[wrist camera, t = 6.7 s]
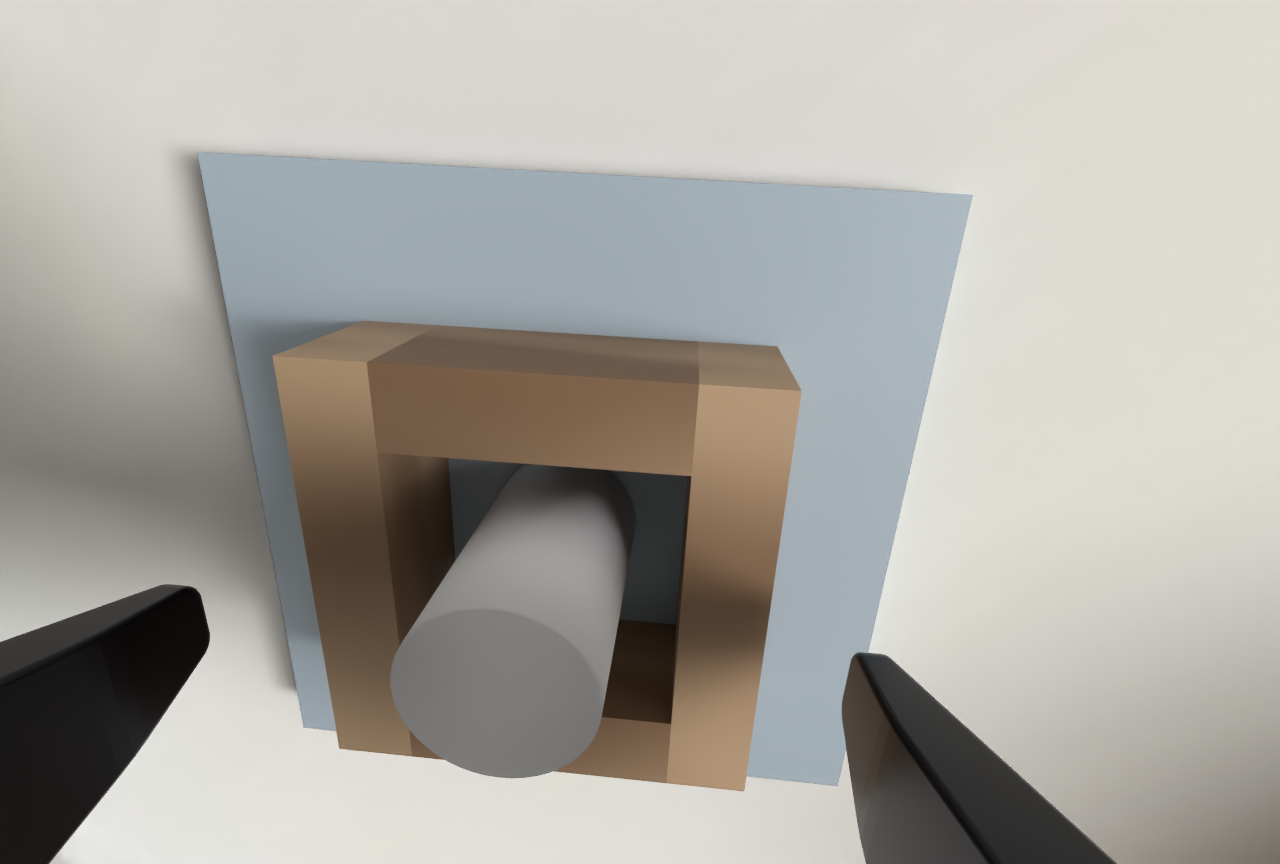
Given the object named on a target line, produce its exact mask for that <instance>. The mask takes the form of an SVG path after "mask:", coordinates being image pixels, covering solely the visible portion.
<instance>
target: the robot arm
mask: <svg viewBox="0 0 1280 864" xmlns="http://www.w3.org/2000/svg"><path fill="white" fill-rule="evenodd" d="M209 641H210V632H209V628H208V624H207V620H206V615H205V611H204V607H203V603H202V598H201V595H200V593H199V592H198V591H197V590H196V589H195V588H193V587H190V586H181V585H170V584H166V585H160V586H157V587H154V588H151V589H148V590H146V591H143V592H140V593H137V594H134V595H132V596H129V597H126V598H123V599H120V600H118V601H115V602H112V603H109V604H106V605H103V606H101V607H98V608H95V609H92V610H89V611H87V612H84V613H81V614H78V615H75V616H72V617H70V618H67V619H64V620H61V621H58V622H56V623H53V624H50V625H47V626H44V627H41V628H39V629H36V630H33V631H30V632H27V633H25V634H22V635H19V636H16V637H13V638H11V639H8V640H5V641H2V642H0V864H49V863H50V862H51V861H52V860H53V859H54V857H55V856H56V855H57V853H58V852H59V851H60V850H61V849H62V847H63V846H64V845H65V844H66V842H67V841H68V840H69V839H70V837H71V836H72V835H73V834H74V832H75V831H76V830H77V829H78V827H79V826H80V825H81V824H82V822H83V821H84V820H85V819H86V817H87V816H88V815H89V814H90V812H91V811H92V810H93V809H94V808H95V806H96V805H97V804H98V803H99V801H100V800H101V799H102V798H103V796H104V795H105V794H106V793H107V791H108V790H109V789H110V788H111V786H112V785H113V784H114V783H115V781H116V780H117V779H118V778H119V776H120V775H121V774H122V773H123V771H124V770H125V769H126V767H127V766H128V765H129V764H130V762H131V761H132V760H133V758H134V757H135V756H136V754H137V753H138V751H139V750H140V749H141V747H142V746H143V744H144V743H145V742H146V740H147V739H148V737H149V736H150V734H151V733H152V731H153V730H154V728H155V727H156V725H157V724H158V722H159V721H160V720H161V718H162V717H163V715H164V714H165V712H166V711H167V709H168V708H169V706H170V705H171V703H172V702H173V700H174V699H175V697H176V696H177V694H178V693H179V691H180V690H181V688H182V687H183V686H184V684H185V683H186V681H187V680H188V678H189V677H190V675H191V674H192V672H193V671H194V669H195V668H196V666H197V665H198V663H199V662H200V660H201V659H202V657H203V656H204V654H205V653H206V651H207V648H208V645H209ZM842 723H843V730H844V736H845V743H846V750H847V756H848V763H849V769H850V776H851V783H852V789H853V796H854V803H855V809H856V816H857V822H858V828H859V834H860V840H861V844H862V848H863V852H864V857H865V861H866V864H1117V863H1116V862H1115V861H1113V860H1112V859H1111V858H1110V857H1109V856H1108V855H1107V854H1106V853H1105V852H1104V851H1102V850H1101V849H1100V848H1099V847H1098V846H1097V845H1096V844H1095V843H1094V842H1093V841H1091V840H1090V839H1089V838H1088V837H1087V836H1086V835H1085V834H1084V833H1083V832H1081V831H1080V830H1079V829H1078V828H1077V827H1076V826H1075V825H1074V824H1073V823H1072V822H1070V821H1069V820H1068V819H1067V818H1066V817H1065V816H1064V815H1063V814H1062V813H1061V812H1059V811H1058V810H1057V809H1056V808H1055V807H1054V806H1053V805H1052V804H1051V803H1050V802H1048V801H1047V800H1046V799H1045V798H1044V797H1043V796H1042V795H1041V794H1040V793H1039V792H1037V791H1036V790H1035V789H1034V788H1033V787H1032V786H1031V785H1030V784H1029V783H1027V782H1026V781H1025V780H1024V779H1023V778H1022V777H1021V776H1020V775H1019V774H1018V773H1016V772H1015V771H1014V770H1013V769H1012V768H1011V767H1010V766H1009V765H1008V764H1007V763H1005V762H1004V761H1003V760H1002V759H1001V758H1000V757H999V756H998V755H997V754H996V753H994V752H993V751H992V750H991V749H990V748H989V747H988V746H987V745H986V744H985V743H983V742H982V741H981V740H980V739H979V738H978V737H977V736H976V735H975V734H973V733H972V732H971V731H970V730H969V729H968V728H967V727H966V726H965V725H964V724H962V723H961V722H960V721H959V720H958V719H957V718H956V717H955V716H954V715H953V714H951V713H950V712H949V711H948V710H947V709H946V708H945V707H944V706H943V705H942V704H940V703H939V702H938V701H937V700H936V699H935V698H934V697H933V696H932V695H931V694H929V693H928V692H927V691H926V690H925V689H924V688H923V687H922V686H921V685H920V684H918V683H917V682H916V681H915V680H914V679H913V678H912V677H911V676H910V675H908V674H907V673H906V672H905V671H904V670H903V669H902V668H901V667H900V666H899V665H897V664H896V663H895V662H894V661H893V660H892V659H891V658H889V657H888V656H886V655H883V654H874V653H864V652H858V653H856V654H854V655H853V657H852V659H851V662H850V666H849V671H848V676H847V680H846V685H845V689H844V694H843V699H842Z"/></svg>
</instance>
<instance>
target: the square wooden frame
mask: <svg viewBox="0 0 1280 864" xmlns="http://www.w3.org/2000/svg"><path fill="white" fill-rule="evenodd" d="M272 357H273V362H274V368H275V374H276V380H277V386H278V392H279V398H280V403H281V409H282V415H283V421H284V427H285V433H286V439H287V444H288V450H289V456H290V462H291V468H292V474H293V480H294V485H295V491H296V497H297V503H298V509H299V515H300V521H301V527H302V532H303V538H304V544H305V550H306V556H307V562H308V568H309V573H310V579H311V585H312V591H313V597H314V603H315V609H316V614H317V620H318V626H319V632H320V638H321V644H322V650H323V655H324V661H325V667H326V673H327V679H328V685H329V691H330V696H331V702H332V708H333V714H334V720H335V726H336V732H337V737H338V743H339V749H348V750H358V751H367V752H376V753H386V754H395V755H405V756H414V757H424V758H433V759H443V758H441V757H440V756H438V755H436V754H435V753H434V752H432V751H431V750H430V749H428V748H427V747H426V746H425V745H424V744H422V743H421V742H420V741H419V740H418V739H417V738H416V737H415V736H414V734H413V733H412V732H411V731H410V730H409V729H408V727H407V726H406V724H405V723H404V721H403V720H402V718H401V716H400V714H399V712H398V711H397V708H396V706H395V703H394V700H393V696H392V691H391V680H390V675H391V668H392V663H393V660H394V657H395V654H396V652H397V650H398V649H399V647H400V645H401V643H402V642H403V640H404V639H405V637H406V636H407V634H408V633H409V631H410V630H411V628H412V626H413V625H414V623H415V622H416V620H417V619H418V617H419V616H420V614H421V613H422V611H423V610H424V608H425V607H426V605H427V604H428V602H429V600H430V599H431V597H432V596H433V594H434V593H435V591H436V590H437V588H438V587H439V585H440V584H441V582H442V581H443V579H444V578H445V576H446V574H447V573H448V571H449V570H450V568H451V567H452V565H453V564H454V562H455V561H456V560H455V546H454V532H453V518H452V504H451V490H450V476H449V462H448V458H456V459H469V460H483V461H496V462H509V463H522V464H536V465H549V466H562V467H575V468H589V469H602V470H615V471H628V472H642V473H655V474H668V475H681V476H688V477H687V489H686V502H685V514H684V527H683V539H682V552H681V565H680V577H679V590H678V602H677V615H676V624H665V623H654V622H643V621H632V620H621V619H619V622H618V628H617V633H616V639H615V645H614V650H613V656H612V661H611V667H610V673H609V678H608V684H607V689H606V695H605V701H604V706H603V712H602V717H601V722H600V725H599V728H598V731H597V733H596V735H595V737H594V739H593V741H592V742H591V743H590V745H589V746H588V748H587V749H586V750H585V751H584V752H583V753H582V754H581V755H580V756H579V757H577V758H576V759H575V760H573V761H572V762H571V763H569V764H567V765H565V766H563V767H562V768H560V769H557V770H555V771H557V772H566V773H576V774H585V775H595V776H604V777H614V778H623V779H632V780H642V781H651V782H661V783H670V784H680V785H689V786H699V787H708V788H718V789H727V790H737V791H744V788H745V781H746V774H747V767H748V760H749V753H750V746H751V740H752V733H753V726H754V719H755V712H756V705H757V698H758V691H759V684H760V677H761V670H762V663H763V656H764V649H765V643H766V636H767V629H768V622H769V615H770V608H771V601H772V594H773V587H774V580H775V573H776V566H777V559H778V552H779V546H780V539H781V532H782V525H783V518H784V511H785V504H786V497H787V490H788V483H789V476H790V469H791V462H792V455H793V449H794V442H795V435H796V428H797V421H798V414H799V407H800V400H801V393H802V391H801V389H800V387H799V385H798V383H797V381H796V380H795V378H794V376H793V374H792V372H791V370H790V368H789V367H788V365H787V363H786V361H785V359H784V357H783V356H782V354H781V352H780V350H779V348H778V346H763V345H747V344H731V343H715V342H699V341H683V340H667V339H651V338H635V337H619V336H603V335H587V334H571V333H555V332H539V331H523V330H506V329H490V328H474V327H458V326H442V325H426V324H410V323H394V322H378V321H362V322H360V323H357V324H354V325H352V326H349V327H347V328H344V329H341V330H339V331H336V332H334V333H331V334H328V335H326V336H323V337H321V338H318V339H315V340H313V341H310V342H307V343H305V344H302V345H300V346H297V347H294V348H292V349H289V350H287V351H284V352H281V353H279V354H276V355H273V356H272ZM443 760H445V759H443Z"/></svg>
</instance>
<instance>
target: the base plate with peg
mask: <svg viewBox="0 0 1280 864" xmlns="http://www.w3.org/2000/svg"><path fill="white" fill-rule="evenodd" d="M197 153H198V159H199V164H200V169H201V175H202V180H203V186H204V191H205V196H206V202H207V207H208V213H209V218H210V223H211V229H212V234H213V240H214V245H215V250H216V256H217V261H218V267H219V272H220V277H221V283H222V288H223V294H224V299H225V305H226V310H227V315H228V321H229V326H230V332H231V337H232V342H233V348H234V353H235V359H236V364H237V369H238V375H239V380H240V386H241V391H242V396H243V402H244V407H245V413H246V418H247V423H248V429H249V434H250V440H251V445H252V451H253V456H254V461H255V467H256V472H257V478H258V483H259V488H260V494H261V499H262V505H263V510H264V515H265V521H266V526H267V532H268V537H269V542H270V548H271V553H272V559H273V564H274V569H275V575H276V580H277V586H278V591H279V596H280V602H281V607H282V613H283V618H284V624H285V629H286V634H287V640H288V645H289V651H290V656H291V661H292V667H293V672H294V678H295V683H296V688H297V694H298V699H299V705H300V710H301V715H302V721H303V726H304V728H313V729H322V730H331V731H336V726H335V720H334V714H333V708H332V702H331V696H330V691H329V685H328V679H327V673H326V667H325V661H324V655H323V650H322V644H321V638H320V632H319V626H318V620H317V614H316V609H315V603H314V597H313V591H312V585H311V579H310V573H309V568H308V562H307V556H306V550H305V544H304V538H303V532H302V527H301V521H300V515H299V509H298V503H297V497H296V491H295V485H294V480H293V474H292V468H291V462H290V456H289V450H288V444H287V439H286V433H285V427H284V421H283V415H282V409H281V403H280V398H279V392H278V386H277V380H276V374H275V368H274V362H273V357H272V356H273V355H276V354H279V353H281V352H284V351H287V350H289V349H292V348H294V347H297V346H300V345H302V344H305V343H307V342H310V341H313V340H315V339H318V338H321V337H323V336H326V335H328V334H331V333H334V332H336V331H339V330H341V329H344V328H347V327H349V326H352V325H354V324H357V323H360V322H362V321H378V322H394V323H410V324H426V325H442V326H458V327H474V328H490V329H506V330H523V331H539V332H555V333H571V334H587V335H603V336H619V337H635V338H651V339H667V340H683V341H699V342H715V343H731V344H747V345H763V346H778V348H779V350H780V352H781V354H782V356H783V357H784V359H785V361H786V363H787V365H788V367H789V368H790V370H791V372H792V374H793V376H794V378H795V380H796V381H797V383H798V385H799V387H800V389H801V391H802V393H801V400H800V407H799V414H798V421H797V428H796V435H795V442H794V449H793V455H792V462H791V469H790V476H789V483H788V490H787V497H786V504H785V511H784V518H783V525H782V532H781V539H780V546H779V552H778V559H777V566H776V573H775V580H774V587H773V594H772V601H771V608H770V615H769V622H768V629H767V636H766V643H765V649H764V656H763V663H762V670H761V677H760V684H759V691H758V698H757V705H756V712H755V719H754V726H753V733H752V740H751V746H750V753H749V760H748V767H747V774H746V776H750V777H759V778H768V779H777V780H786V781H795V782H804V783H814V784H823V785H832V786H838V781H839V777H840V773H841V768H842V764H843V759H844V755H845V751H846V743H845V736H844V730H843V723H842V699H843V694H844V689H845V685H846V680H847V676H848V671H849V666H850V662H851V659H852V657H853V655H854V654H856V653H858V652H864V653H868V650H869V646H870V641H871V637H872V633H873V628H874V624H875V620H876V615H877V611H878V606H879V602H880V598H881V593H882V589H883V585H884V580H885V576H886V572H887V567H888V563H889V558H890V554H891V550H892V545H893V541H894V537H895V532H896V528H897V523H898V519H899V515H900V510H901V506H902V502H903V497H904V493H905V489H906V484H907V480H908V475H909V471H910V467H911V462H912V458H913V454H914V449H915V445H916V440H917V436H918V432H919V427H920V423H921V419H922V414H923V410H924V405H925V401H926V397H927V392H928V388H929V384H930V379H931V375H932V371H933V366H934V362H935V357H936V353H937V349H938V344H939V340H940V336H941V331H942V327H943V322H944V318H945V314H946V309H947V305H948V301H949V296H950V292H951V288H952V283H953V279H954V274H955V270H956V266H957V261H958V257H959V253H960V248H961V244H962V239H963V235H964V231H965V226H966V222H967V218H968V213H969V209H970V205H971V200H972V196H973V195H965V194H947V193H929V192H911V191H893V190H875V189H857V188H839V187H821V186H803V185H785V184H767V183H749V182H731V181H713V180H694V179H676V178H658V177H640V176H622V175H604V174H586V173H568V172H550V171H532V170H514V169H496V168H478V167H460V166H442V165H424V164H406V163H387V162H369V161H351V160H333V159H315V158H297V157H279V156H261V155H243V154H225V153H207V152H197ZM448 462H449V476H450V490H451V504H452V518H453V532H454V546H455V560H456V561H455V562H454V564H453V565H452V567H451V568H450V570H449V571H448V573H447V574H446V576H445V578H444V579H443V581H442V582H441V584H440V585H439V587H438V588H437V590H436V591H435V593H434V594H433V596H432V597H431V599H430V600H429V602H428V604H427V605H426V607H425V608H424V610H423V611H422V613H421V614H420V616H419V617H418V619H417V620H416V622H415V623H414V625H413V626H412V628H411V630H410V631H409V633H408V634H407V636H406V637H405V639H404V640H403V642H402V643H401V645H400V647H399V649H398V650H397V652H396V654H395V657H394V660H393V663H392V668H391V675H390V680H391V691H392V696H393V700H394V703H395V706H396V708H397V711H398V712H399V714H400V716H401V718H402V720H403V721H404V723H405V724H406V726H407V727H408V729H409V730H410V731H411V732H412V733H413V734H414V736H415V737H416V738H417V739H418V740H419V741H420V742H421V743H422V744H424V745H425V746H426V747H427V748H428V749H430V750H431V751H432V752H434V753H435V754H436V755H438V756H440V757H441V758H443V759H445V760H446V761H448V762H450V763H452V764H454V765H457V766H459V767H461V768H464V769H466V770H469V771H472V772H476V773H479V774H483V775H488V776H494V777H503V778H525V777H532V776H538V775H542V774H546V773H549V772H552V771H555V770H557V769H560V768H562V767H563V766H565V765H567V764H569V763H571V762H572V761H573V760H575V759H576V758H577V757H579V756H580V755H581V754H582V753H583V752H584V751H585V750H586V749H587V748H588V746H589V745H590V743H591V742H592V741H593V739H594V737H595V735H596V733H597V731H598V728H599V725H600V722H601V717H602V712H603V706H604V701H605V695H606V689H607V684H608V678H609V673H610V667H611V661H612V656H613V650H614V645H615V639H616V633H617V628H618V622H619V619H621V620H632V621H643V622H654V623H665V624H676V615H677V602H678V590H679V577H680V565H681V552H682V539H683V527H684V514H685V502H686V489H687V477H688V476H681V475H668V474H655V473H642V472H628V471H615V470H602V469H589V468H575V467H562V466H549V465H536V464H522V463H509V462H496V461H483V460H469V459H456V458H448Z"/></svg>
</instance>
